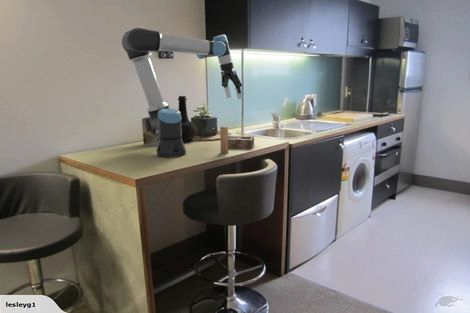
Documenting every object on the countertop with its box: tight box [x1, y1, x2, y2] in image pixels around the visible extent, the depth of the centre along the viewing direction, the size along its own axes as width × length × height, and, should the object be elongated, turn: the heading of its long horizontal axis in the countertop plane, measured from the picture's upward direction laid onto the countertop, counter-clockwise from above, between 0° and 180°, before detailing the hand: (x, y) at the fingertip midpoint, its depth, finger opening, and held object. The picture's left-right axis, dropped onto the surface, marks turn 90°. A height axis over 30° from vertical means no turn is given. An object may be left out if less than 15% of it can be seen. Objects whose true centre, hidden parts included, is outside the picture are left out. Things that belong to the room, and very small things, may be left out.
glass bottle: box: [177, 95, 198, 143], centre depth 215 cm, size 18×18×28 cm
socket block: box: [228, 134, 255, 150], centre depth 201 cm, size 16×12×5 cm
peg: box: [219, 126, 229, 155], centre depth 183 cm, size 4×4×14 cm
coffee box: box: [141, 116, 159, 147], centre depth 205 cm, size 9×6×16 cm
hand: (234, 98), depth 208 cm, fingers open, 13 cm apart
